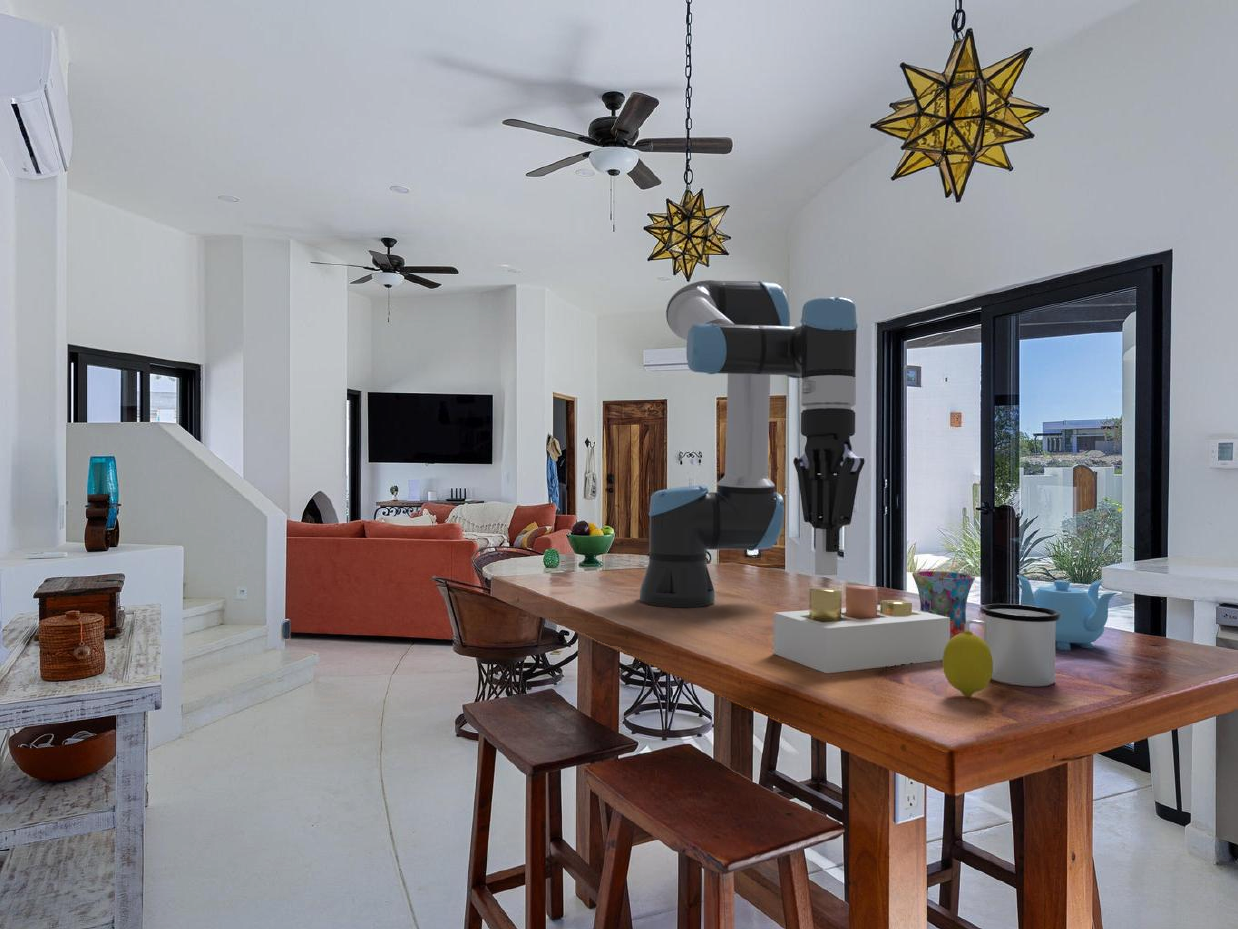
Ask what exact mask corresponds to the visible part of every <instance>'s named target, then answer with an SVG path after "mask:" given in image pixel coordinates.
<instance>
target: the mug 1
mask: <svg viewBox="0 0 1238 929" xmlns="http://www.w3.org/2000/svg"><path fill="white" fill-rule="evenodd" d="M911 574H912V578H913V579H914V580H913V581H914V582H915V585H916V588H917V591H918V597H919V603H920V604H919V606H920V610H919V611H923V612H927V613H932V614H936V615H940V616H945V617H949V618H950V639H951V638H953V637H954V636H956V635H958V634H961V633H963V632H964V631H965V623H966V622H967V616H966V614H967V613H966V612H967V611H966V610H967V603H968V597H969V594H970V591H971V588H972V587H973V584H974V582H975V580H976V577H975V575H972V574H968V573H964V572H963V573H961V572H954V571H953V572H952V571H939V570H936V571H935V570H922V571H915V572H914V571H913V572H912V573H911Z"/></svg>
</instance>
